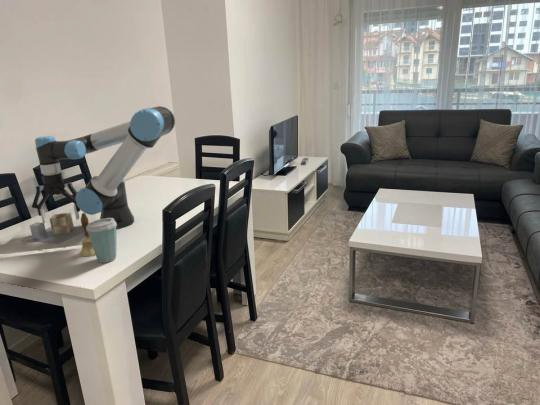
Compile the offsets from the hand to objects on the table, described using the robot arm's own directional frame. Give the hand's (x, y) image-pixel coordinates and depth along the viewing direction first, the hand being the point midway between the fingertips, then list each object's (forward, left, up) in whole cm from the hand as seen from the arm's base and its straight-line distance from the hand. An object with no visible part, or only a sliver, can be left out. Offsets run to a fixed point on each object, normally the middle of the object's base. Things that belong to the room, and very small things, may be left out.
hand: (61, 220), depth 185 cm
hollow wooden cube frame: (0, 0, -5) cm, 5 cm away
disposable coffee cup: (-38, +19, -6) cm, 43 cm away
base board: (0, +4, -6) cm, 7 cm away
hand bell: (-27, +15, -6) cm, 32 cm away
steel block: (+3, +10, -6) cm, 12 cm away
